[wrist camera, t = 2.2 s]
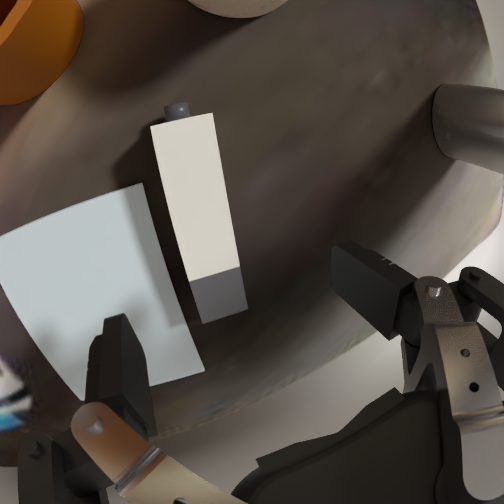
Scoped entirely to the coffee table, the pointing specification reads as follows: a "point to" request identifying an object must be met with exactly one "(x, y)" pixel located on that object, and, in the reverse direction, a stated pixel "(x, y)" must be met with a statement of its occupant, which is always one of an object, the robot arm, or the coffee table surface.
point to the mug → (36, 45)
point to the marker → (200, 210)
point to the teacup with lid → (238, 7)
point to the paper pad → (96, 285)
